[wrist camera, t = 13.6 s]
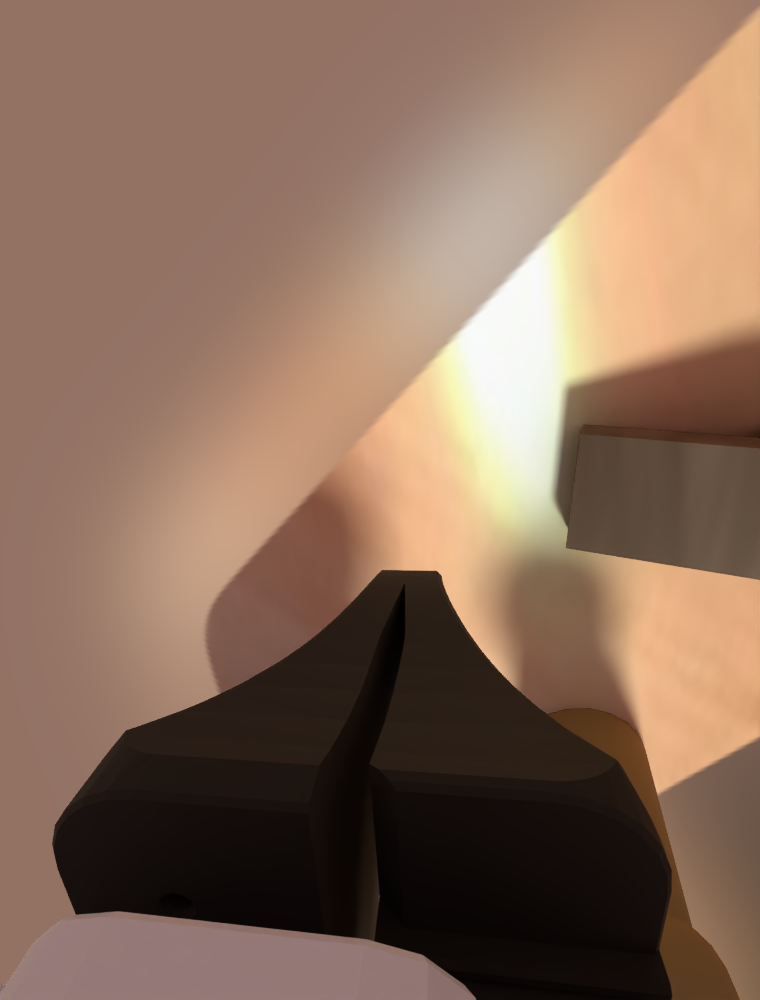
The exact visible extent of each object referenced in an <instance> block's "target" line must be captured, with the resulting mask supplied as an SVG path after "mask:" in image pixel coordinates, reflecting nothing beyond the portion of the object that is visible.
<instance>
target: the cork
mask: <svg viewBox="0 0 760 1000" xmlns="http://www.w3.org/2000/svg"><path fill="white" fill-rule="evenodd" d="M548 715H549V716H550V717H551V718H553V719H554V720H555V721H557V722H558V723H559V724H561V725H562V726H563V727H565V728H566V729H568V730H569V731H571V732H572V733H574V734H576V735H577V736H579V737H581V738H582V739H584V740H585V741H587V742H589V743H590V744H592V745H593V746H595V747H597V748H598V749H600V750H602V751H603V752H605V753H606V754H608V755H610V756H611V757H613V758H615V759H616V760H617V761H618V762H619V763H620V764H621V766H622V768H623V769H624V771H625V773H626V774H627V776H628V778H629V779H630V781H631V783H632V784H633V786H634V788H635V790H636V791H637V793H638V795H639V797H640V799H641V800H642V802H643V804H644V806H645V808H646V810H647V811H648V813H649V815H650V817H651V819H652V821H653V823H654V825H655V827H656V830H657V832H658V834H659V836H660V839H661V841H662V844H663V846H664V849H665V852H666V855H667V859H668V861H669V864H670V866H671V869H672V892H671V897H670V902H669V906H668V911H667V915H666V920H665V924H664V929H663V933H662V938H661V943H660V947H659V950H660V953H661V956H662V959H663V962H664V966H665V969H666V972H667V975H668V978H669V981H670V984H671V990H672V999H671V1000H740V999H739V997H738V995H737V992H736V990H735V987H734V985H733V983H732V981H731V978H730V976H729V973H728V971H727V969H726V967H725V965H724V964H723V962H722V961H721V959H720V958H719V956H718V955H717V953H716V951H715V950H714V948H713V947H712V945H710V944H709V943H708V942H707V941H706V940H705V939H704V938H703V937H702V936H701V935H700V934H699V933H698V932H697V931H696V930H694V929H693V928H692V925H691V921H690V917H689V913H688V909H687V906H686V902H685V898H684V894H683V890H682V887H681V883H680V880H679V875H678V872H677V868H676V865H675V860H674V856H673V853H672V849H671V845H670V842H669V838H668V834H667V830H666V827H665V822H664V819H663V815H662V811H661V807H660V804H659V800H658V796H657V792H656V788H655V785H654V781H653V777H652V773H651V770H650V766H649V762H648V758H647V755H646V751H645V748H644V746H643V743H642V741H641V738H640V736H639V735H638V734H637V732H636V731H635V730H634V729H633V728H632V727H631V726H630V725H629V724H628V723H627V722H625V721H623V720H621V719H619V718H617V717H615V716H614V715H612V714H610V713H605V712H601V711H597V710H592V709H567V710H563V711H559V712H555V713H552V714H548Z"/></svg>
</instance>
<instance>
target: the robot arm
mask: <svg viewBox="0 0 760 1000" xmlns="http://www.w3.org/2000/svg"><path fill="white" fill-rule="evenodd" d="M52 844H53V850H54V854H55V859H56V863H57V867H58V871H59V873H60V876H61V878H62V881H63V883H64V886H65V888H66V891H67V893H68V896H69V898H70V901H71V903H72V906H73V908H74V911H75V914H76V915H73V916H71V917H68V918H65V919H62V920H59V921H58V922H57V923H56V924H55V925H53V926H52V927H51V928H50V929H49V930H48V931H46V932H45V933H44V934H43V935H42V936H41V937H39V938H38V939H37V940H36V941H35V942H34V943H33V944H32V946H31V947H30V949H29V950H28V952H27V953H26V955H25V956H24V958H23V959H22V961H21V962H20V964H19V966H18V967H17V968H16V970H15V972H14V973H13V975H12V976H11V978H10V979H9V981H8V982H7V984H6V985H5V984H0V1000H671V999H672V990H671V984H670V981H669V978H668V975H667V972H666V969H665V966H664V962H663V959H662V956H661V953H660V950H659V947H660V943H661V938H662V933H663V929H664V924H665V920H666V915H667V911H668V906H669V902H670V897H671V892H672V869H671V866H670V864H669V861H668V859H667V855H666V852H665V849H664V846H663V844H662V841H661V839H660V836H659V834H658V832H657V830H656V827H655V825H654V823H653V821H652V819H651V817H650V815H649V813H648V811H647V810H646V808H645V806H644V804H643V802H642V800H641V799H640V797H639V795H638V793H637V791H636V790H635V788H634V786H633V784H632V783H631V781H630V779H629V778H628V776H627V774H626V773H625V771H624V769H623V768H622V766H621V764H620V763H619V762H618V761H617V760H616V759H615V758H613V757H611V756H610V755H608V754H606V753H605V752H603V751H602V750H600V749H598V748H597V747H595V746H593V745H592V744H590V743H589V742H587V741H585V740H584V739H582V738H581V737H579V736H577V735H576V734H574V733H572V732H571V731H569V730H568V729H566V728H565V727H563V726H562V725H561V724H559V723H558V722H557V721H555V720H554V719H553V718H551V717H550V716H549V715H547V714H546V713H545V712H543V711H542V710H540V709H539V708H538V707H537V706H536V705H534V704H533V703H532V702H531V701H530V700H529V699H528V698H526V697H525V696H524V695H523V694H522V693H521V692H520V691H519V690H517V689H516V688H515V687H514V686H513V685H512V684H511V683H510V682H509V681H508V680H507V679H506V678H505V677H504V676H503V675H502V674H501V673H500V672H499V671H498V669H497V668H496V667H495V666H494V665H493V664H492V663H491V662H490V660H489V659H488V658H487V657H486V656H485V654H484V653H483V652H482V651H481V649H480V648H479V647H478V645H477V644H476V643H475V641H474V640H473V638H472V637H471V635H470V634H469V633H468V631H467V630H466V628H465V626H464V625H463V623H462V622H461V620H460V618H459V616H458V615H457V613H456V611H455V609H454V608H453V606H452V604H451V602H450V600H449V598H448V595H447V593H446V591H445V588H444V585H443V582H442V576H441V575H440V574H439V573H438V572H437V571H400V570H382V571H381V572H380V573H379V574H378V575H377V576H376V577H375V578H374V579H373V580H372V581H371V582H370V583H369V584H368V586H367V587H366V588H365V589H364V590H363V591H362V592H361V593H360V594H359V595H358V596H357V598H356V599H355V600H354V601H353V602H352V603H351V604H350V605H349V606H348V607H347V608H346V609H345V610H344V611H343V612H342V613H341V614H340V615H339V616H338V617H337V618H335V619H334V620H333V621H332V622H331V623H330V624H329V625H328V626H326V627H325V628H324V629H323V630H322V631H321V632H320V633H319V634H317V635H316V636H315V637H314V638H312V639H311V640H310V641H308V642H307V643H306V644H305V645H303V646H302V647H300V648H299V649H297V650H296V651H295V652H293V653H292V654H290V655H289V656H287V657H286V658H284V659H283V660H281V661H280V662H278V663H276V664H275V665H273V666H271V667H270V668H268V669H266V670H264V671H263V672H261V673H259V674H257V675H256V676H254V677H252V678H251V679H249V680H247V681H245V682H244V683H242V684H240V685H238V686H236V687H234V688H232V689H230V690H228V691H226V692H223V693H221V694H219V695H217V696H215V697H213V698H210V699H208V700H206V701H204V702H201V703H199V704H197V705H195V706H192V707H190V708H187V709H185V710H182V711H180V712H177V713H174V714H171V715H169V716H166V717H163V718H161V719H158V720H155V721H152V722H149V723H147V724H144V725H141V726H138V727H136V728H132V729H130V730H126V731H125V732H124V734H123V735H122V736H121V737H120V739H119V740H118V741H117V742H116V743H115V745H114V746H113V747H112V748H111V750H110V751H109V752H108V753H107V755H106V756H105V757H104V758H103V760H102V761H101V763H100V764H99V765H98V766H97V768H96V769H95V771H94V772H93V773H92V774H91V776H90V777H89V778H88V780H87V781H86V782H85V784H84V785H83V786H82V788H81V789H80V791H79V792H78V793H77V794H76V796H75V797H74V798H73V800H72V801H71V802H70V804H69V805H68V806H67V808H66V809H65V811H64V812H63V814H62V815H61V817H60V818H59V820H58V821H57V823H56V824H55V829H54V836H53V843H52Z"/></svg>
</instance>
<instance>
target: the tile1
mask: <svg viewBox="0 0 760 1000" xmlns="http://www.w3.org/2000/svg"><path fill="white" fill-rule="evenodd" d="M566 548H569V549H575V550H581V551H587V552H593V553H599V554H606V555H612V556H618V557H624V558H630V559H636V560H642V561H648V562H654V563H661V564H667V565H673V566H679V567H685V568H691V569H697V570H703V571H709V572H716V573H722V574H728V575H734V576H740V577H746V578H752V579H758V580H760V438H756V437H742V436H729V435H715V434H701V433H688V432H674V431H660V430H647V429H633V428H619V427H606V426H592V425H584V426H583V428H582V431H581V434H580V441H579V448H578V456H577V464H576V472H575V480H574V488H573V496H572V503H571V511H570V519H569V527H568V535H567V543H566Z"/></svg>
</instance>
